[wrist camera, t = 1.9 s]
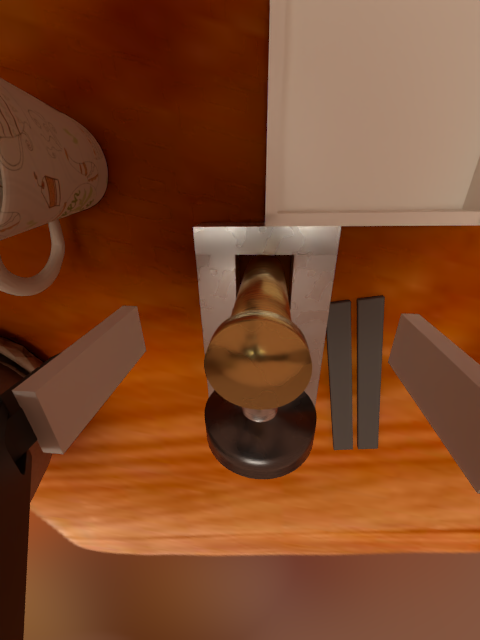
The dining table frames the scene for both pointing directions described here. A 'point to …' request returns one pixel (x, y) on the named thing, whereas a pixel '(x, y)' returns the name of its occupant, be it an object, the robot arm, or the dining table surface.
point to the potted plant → (3, 372)
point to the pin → (259, 343)
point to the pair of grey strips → (367, 371)
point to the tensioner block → (306, 312)
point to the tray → (373, 113)
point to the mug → (43, 177)
